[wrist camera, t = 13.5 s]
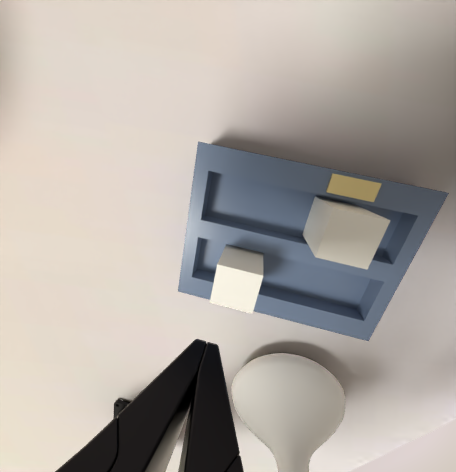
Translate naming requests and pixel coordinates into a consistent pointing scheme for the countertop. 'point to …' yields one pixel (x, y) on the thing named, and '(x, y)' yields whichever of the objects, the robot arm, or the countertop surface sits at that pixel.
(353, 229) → the right tab
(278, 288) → the switch panel
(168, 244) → the countertop surface
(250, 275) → the left tab
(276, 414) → the flower in vase
